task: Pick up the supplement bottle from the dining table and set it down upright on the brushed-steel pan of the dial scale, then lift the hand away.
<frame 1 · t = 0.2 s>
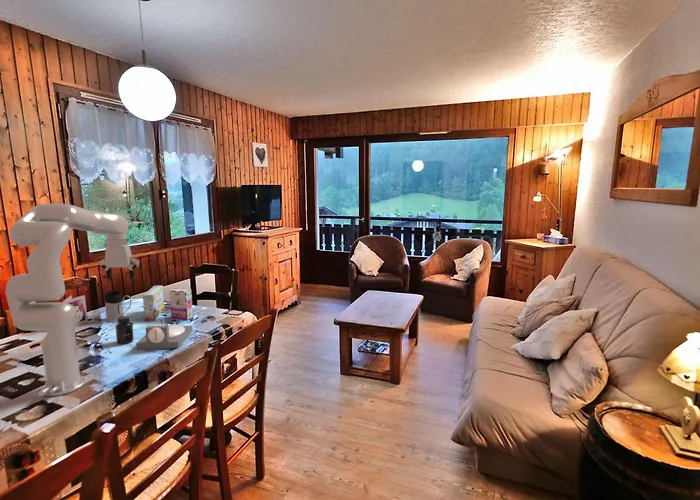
hand: (121, 278, 171), 30 cm above the table, tool pointing down, fingers open, 9 cm apart
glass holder: (120, 319, 201), on the table
greeting card: (73, 325, 192), on the table
dial scale: (166, 339, 175), on the table
supplement bottle: (125, 342, 172), on the table
candy bar box: (182, 318, 205), on the table
snack box: (155, 315, 209), on the table
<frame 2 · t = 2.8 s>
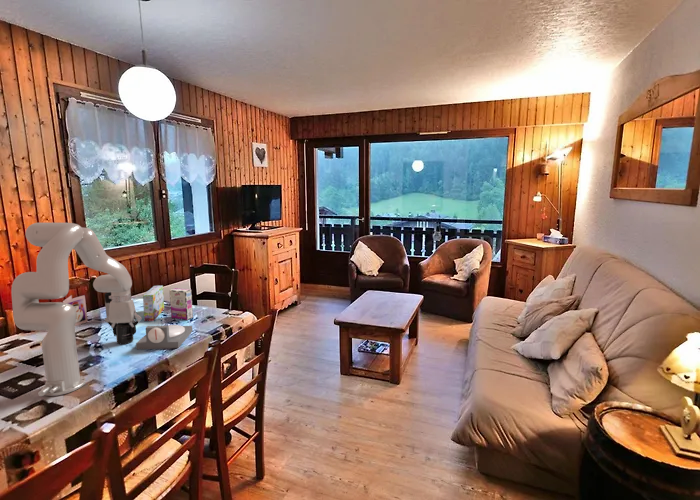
hand: (124, 334, 171), 4 cm above the table, tool pointing down, fingers closed on supplement bottle, 6 cm apart
supplement bottle: (125, 342, 172), on the table, touching gripper
everything else where it was.
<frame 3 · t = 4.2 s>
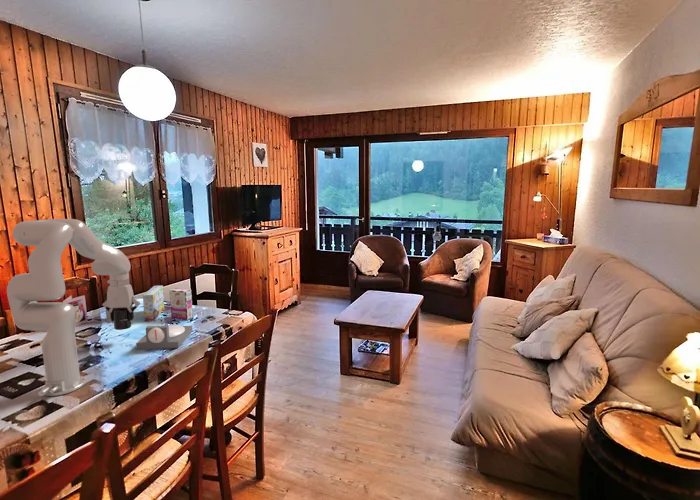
hand: (122, 319, 169), 11 cm above the table, tool pointing down, fingers closed on supplement bottle, 6 cm apart
supplement bottle: (123, 328, 170), point 7 cm above the table, touching gripper
everything else where it was.
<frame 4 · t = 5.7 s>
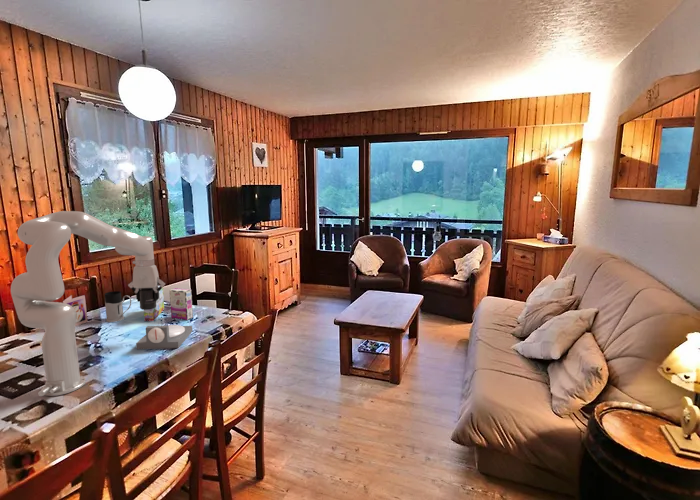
hand: (148, 300, 171), 20 cm above the table, tool pointing down, fingers closed on supplement bottle, 6 cm apart
supplement bottle: (148, 308, 172), point 16 cm above the table, touching gripper
everything else where it was.
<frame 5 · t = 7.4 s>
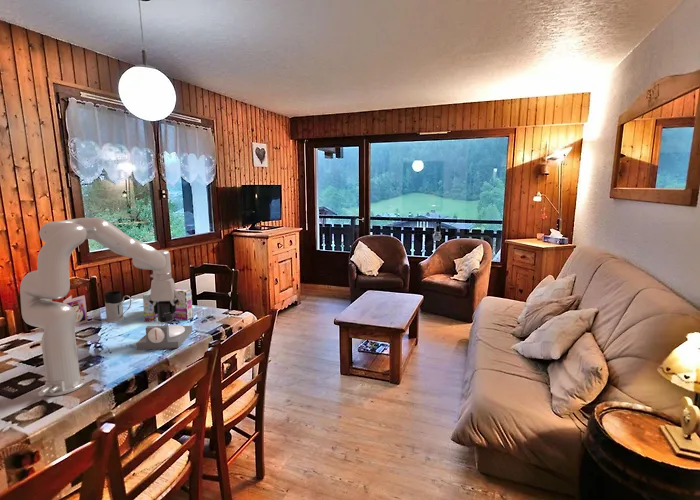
hand: (165, 312, 174), 13 cm above the table, tool pointing down, fingers closed on supplement bottle, 6 cm apart
supplement bottle: (165, 320, 174), point 9 cm above the table, touching gripper
everything else where it was.
when the fingers open (9 cm above the table, at t = 8.6 s): supplement bottle drops 1 cm, resting on dial scale.
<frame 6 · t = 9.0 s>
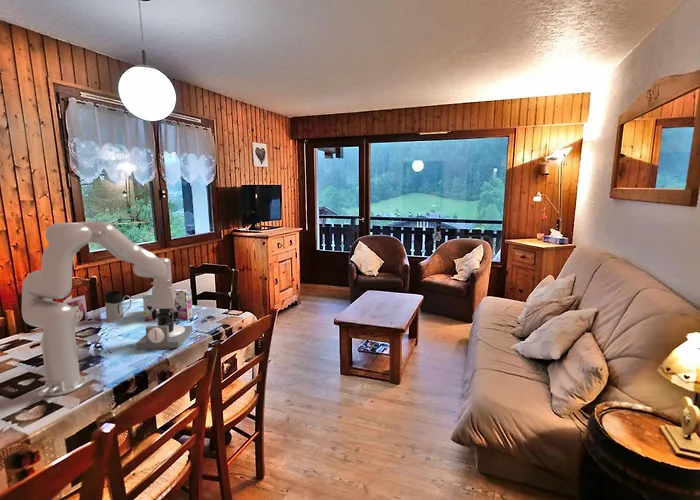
hand: (165, 319, 174), 10 cm above the table, tool pointing down, fingers open, 9 cm apart
supplement bottle: (166, 331, 175), point 4 cm above the table, touching dial scale
everything else where it was.
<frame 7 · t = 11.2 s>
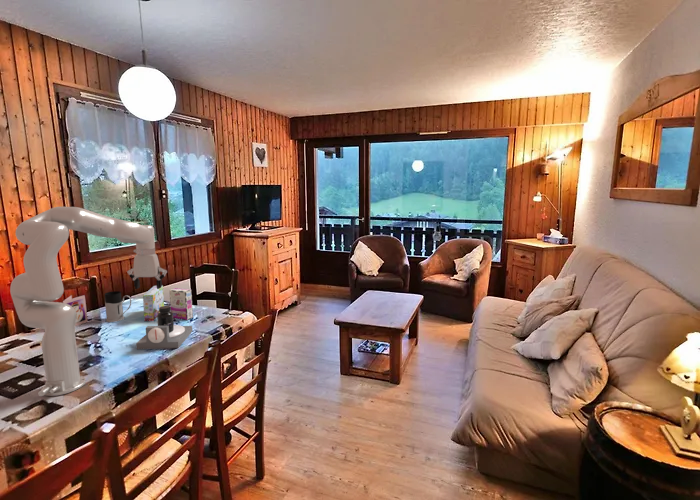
hand: (148, 288, 170), 26 cm above the table, tool pointing down, fingers open, 9 cm apart
nothing on the table moved.
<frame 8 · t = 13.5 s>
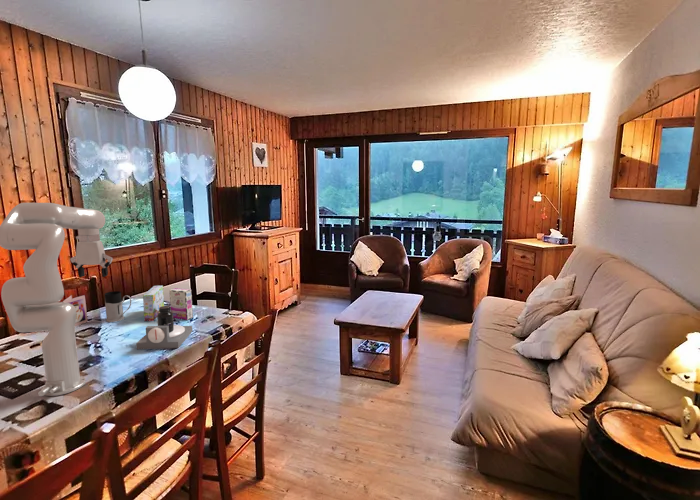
hand: (93, 276, 164), 32 cm above the table, tool pointing down, fingers open, 9 cm apart
nothing on the table moved.
at the end: supplement bottle inside the target area on the dial scale (0.1 cm from its centre), point 3.8 cm above the dial scale's base; supplement bottle tilted 0°; the gripper is holding nothing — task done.
